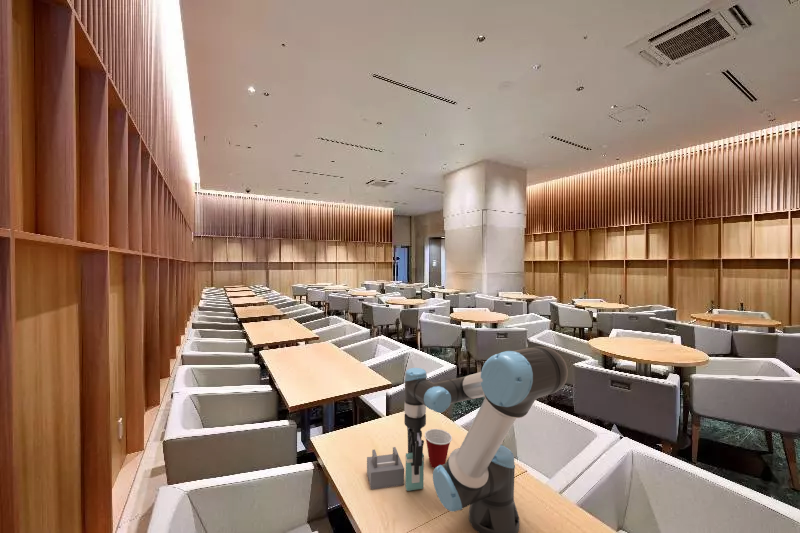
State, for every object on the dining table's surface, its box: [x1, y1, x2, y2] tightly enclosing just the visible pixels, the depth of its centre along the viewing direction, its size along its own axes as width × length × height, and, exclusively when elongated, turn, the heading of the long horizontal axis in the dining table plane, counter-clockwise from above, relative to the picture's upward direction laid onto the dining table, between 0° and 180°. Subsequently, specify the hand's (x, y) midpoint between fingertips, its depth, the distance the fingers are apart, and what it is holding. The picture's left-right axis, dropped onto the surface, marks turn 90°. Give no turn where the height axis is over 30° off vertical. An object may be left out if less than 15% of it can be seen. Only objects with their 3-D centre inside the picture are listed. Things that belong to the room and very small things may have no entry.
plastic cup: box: [424, 428, 453, 469], centre depth 139 cm, size 11×11×12 cm
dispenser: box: [366, 446, 405, 491], centre depth 131 cm, size 10×12×10 cm
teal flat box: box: [404, 452, 425, 491], centre depth 125 cm, size 2×6×12 cm, turn 103°
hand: (414, 479), depth 125 cm, fingers closed on teal flat box, 2 cm apart
